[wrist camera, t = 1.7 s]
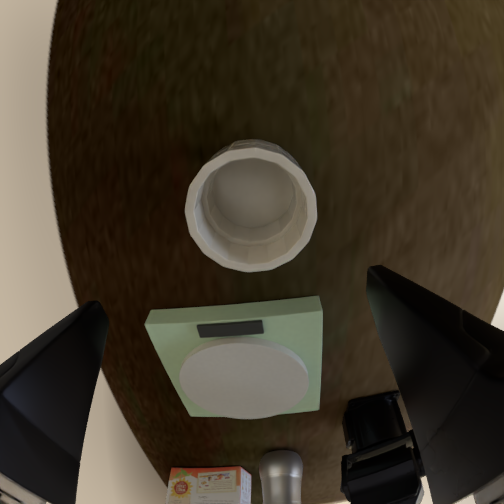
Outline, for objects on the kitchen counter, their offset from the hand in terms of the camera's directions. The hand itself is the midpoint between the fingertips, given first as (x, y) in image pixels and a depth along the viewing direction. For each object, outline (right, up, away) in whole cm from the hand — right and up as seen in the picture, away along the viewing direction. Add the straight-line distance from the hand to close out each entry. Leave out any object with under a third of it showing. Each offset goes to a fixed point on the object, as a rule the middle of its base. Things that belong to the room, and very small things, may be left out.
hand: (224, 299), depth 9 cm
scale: (0, -9, +18) cm, 20 cm away
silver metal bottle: (+5, -29, +28) cm, 41 cm away
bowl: (+1, +6, +10) cm, 12 cm away
